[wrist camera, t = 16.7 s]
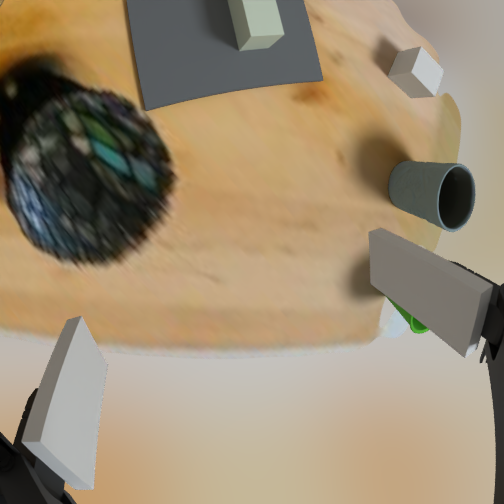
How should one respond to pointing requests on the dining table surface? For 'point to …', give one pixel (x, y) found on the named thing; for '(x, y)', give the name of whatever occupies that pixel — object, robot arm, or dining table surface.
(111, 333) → the dining table surface
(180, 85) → the mat
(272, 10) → the sage block
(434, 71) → the small light-grey cube
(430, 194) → the blue-grey tumbler
